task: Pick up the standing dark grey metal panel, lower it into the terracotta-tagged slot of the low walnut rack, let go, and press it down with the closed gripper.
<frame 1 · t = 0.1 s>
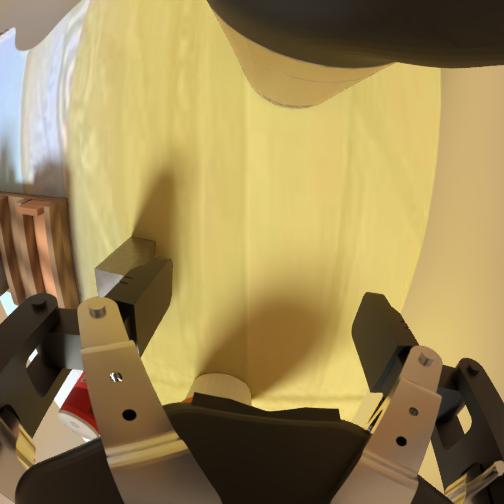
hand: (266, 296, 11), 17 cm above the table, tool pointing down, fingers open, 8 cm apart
panel: (144, 284, 32), on the table
reusable coffee cup: (221, 390, 39), on the table
canned food: (101, 382, 42), on the table
rack: (29, 250, 32), on the table
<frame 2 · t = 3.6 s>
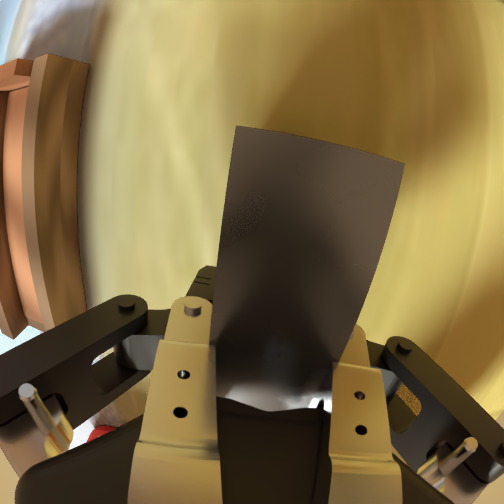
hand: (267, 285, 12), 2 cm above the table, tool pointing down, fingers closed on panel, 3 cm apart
panel: (268, 266, 14), on the table, touching gripper
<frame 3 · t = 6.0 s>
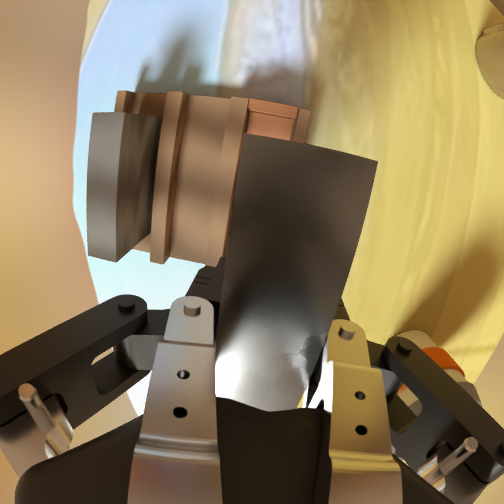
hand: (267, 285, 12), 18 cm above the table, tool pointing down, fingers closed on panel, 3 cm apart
panel: (269, 256, 15), point 14 cm above the table, touching gripper
reusable coffee cup: (403, 353, 35), on the table
rack: (201, 179, 28), on the table
when the fingers open (4 cm above the table, at t = 8.4 s): panel stays where it is, resting on rack.
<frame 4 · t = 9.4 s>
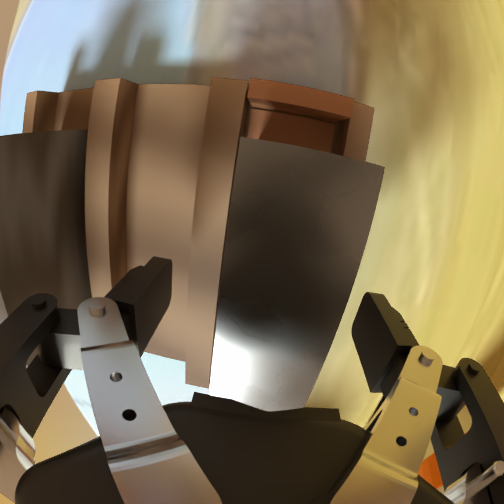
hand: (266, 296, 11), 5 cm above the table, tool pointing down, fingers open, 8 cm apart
panel: (268, 262, 15), point 2 cm above the table, touching rack
reusable coffee cup: (442, 421, 23), on the table
rack: (169, 234, 16), on the table
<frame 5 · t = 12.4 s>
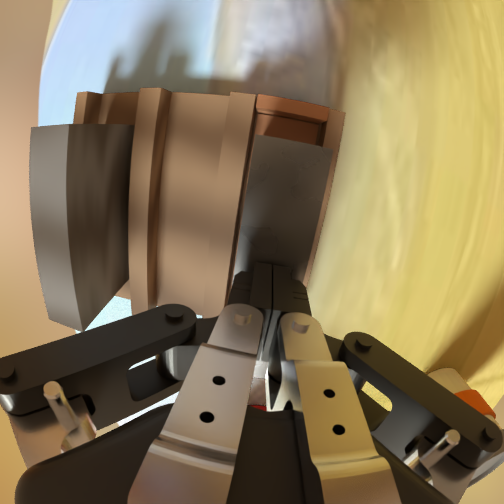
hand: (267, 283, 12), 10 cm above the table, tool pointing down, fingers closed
panel: (269, 227, 20), point 2 cm above the table, touching gripper, rack
reusable coffee cup: (429, 390, 28), on the table
rack: (192, 207, 21), on the table
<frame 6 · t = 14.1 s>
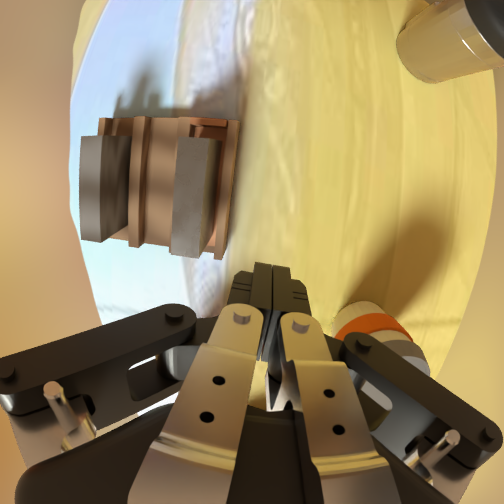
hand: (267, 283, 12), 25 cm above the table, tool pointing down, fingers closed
panel: (205, 187, 34), point 2 cm above the table, touching rack
reusable coffee cup: (358, 324, 42), on the table
rack: (165, 181, 36), on the table
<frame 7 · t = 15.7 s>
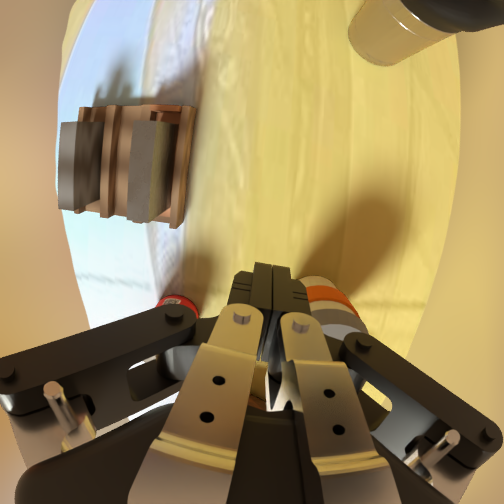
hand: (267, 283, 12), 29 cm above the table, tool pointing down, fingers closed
panel: (164, 165, 37), point 2 cm above the table, touching rack
reusable coffee cup: (311, 299, 46), on the table
canned food: (178, 311, 48), on the table
rack: (132, 161, 39), on the table
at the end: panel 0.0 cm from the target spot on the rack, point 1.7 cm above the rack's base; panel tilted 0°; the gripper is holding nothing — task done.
